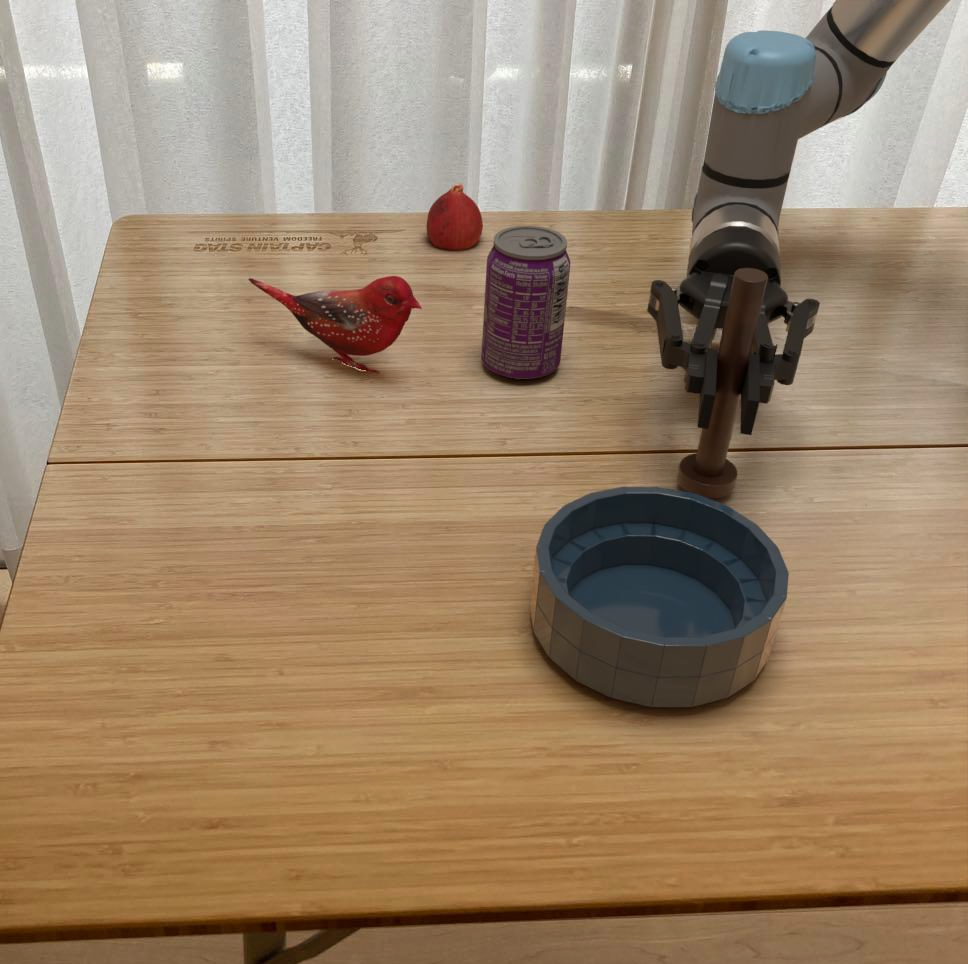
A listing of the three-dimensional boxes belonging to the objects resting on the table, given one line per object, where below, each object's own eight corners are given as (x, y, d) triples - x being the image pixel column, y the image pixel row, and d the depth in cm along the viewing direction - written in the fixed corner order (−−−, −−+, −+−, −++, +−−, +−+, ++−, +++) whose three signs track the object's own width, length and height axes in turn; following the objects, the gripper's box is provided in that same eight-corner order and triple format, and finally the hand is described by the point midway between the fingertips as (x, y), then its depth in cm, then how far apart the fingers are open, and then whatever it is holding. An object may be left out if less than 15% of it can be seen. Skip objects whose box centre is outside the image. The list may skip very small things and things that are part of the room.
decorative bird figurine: (412, 396, 96) (414, 290, 90) (244, 346, 102) (234, 243, 96) (428, 381, 98) (430, 276, 92) (262, 333, 104) (253, 232, 98)
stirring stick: (737, 470, 87) (786, 266, 76) (732, 503, 84) (783, 293, 73) (680, 460, 88) (721, 256, 77) (673, 492, 84) (715, 283, 74)
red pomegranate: (439, 273, 115) (441, 198, 110) (417, 251, 119) (418, 178, 114) (489, 264, 117) (494, 189, 112) (466, 242, 121) (469, 170, 116)
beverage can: (548, 344, 104) (560, 221, 96) (568, 383, 98) (583, 255, 91) (473, 349, 103) (480, 225, 95) (490, 389, 97) (498, 260, 90)
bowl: (774, 579, 78) (793, 511, 74) (759, 741, 66) (781, 671, 62) (556, 535, 81) (564, 468, 78) (505, 683, 70) (511, 612, 66)
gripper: (816, 319, 94) (830, 476, 77) (635, 297, 97) (608, 444, 79) (838, 235, 90) (859, 382, 72) (648, 215, 92) (622, 351, 74)
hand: (728, 414), depth 75 cm, fingers closed on stirring stick, 2 cm apart
